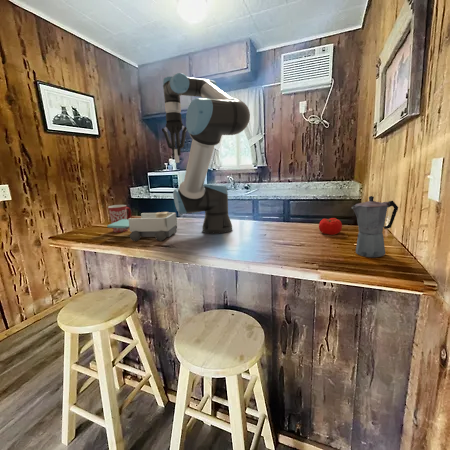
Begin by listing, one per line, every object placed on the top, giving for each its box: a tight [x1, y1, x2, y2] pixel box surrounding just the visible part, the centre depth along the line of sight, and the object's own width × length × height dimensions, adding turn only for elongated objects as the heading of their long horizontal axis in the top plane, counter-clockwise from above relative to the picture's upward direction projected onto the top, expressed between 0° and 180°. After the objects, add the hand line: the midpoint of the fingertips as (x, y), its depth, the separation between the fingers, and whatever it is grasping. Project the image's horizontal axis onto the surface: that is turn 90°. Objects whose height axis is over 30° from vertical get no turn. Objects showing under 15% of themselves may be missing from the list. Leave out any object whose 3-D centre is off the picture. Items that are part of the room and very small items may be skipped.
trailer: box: [128, 212, 178, 242], centre depth 123 cm, size 18×18×10 cm
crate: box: [155, 211, 169, 218], centre depth 123 cm, size 5×5×5 cm
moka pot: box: [351, 195, 399, 258], centre depth 87 cm, size 10×15×20 cm, turn 95°
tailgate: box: [107, 219, 130, 230], centre depth 125 cm, size 1×16×11 cm
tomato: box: [318, 217, 343, 236], centre depth 116 cm, size 10×11×7 cm
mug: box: [107, 204, 132, 233], centre depth 137 cm, size 13×9×14 cm
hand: (177, 162), depth 131 cm, fingers closed
